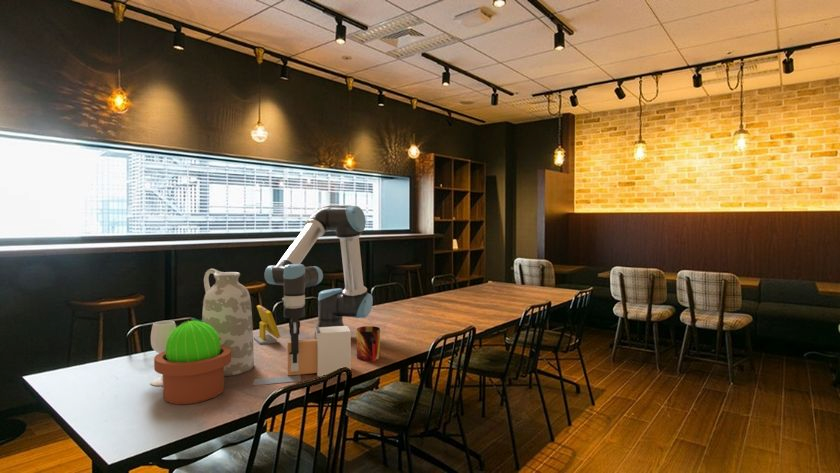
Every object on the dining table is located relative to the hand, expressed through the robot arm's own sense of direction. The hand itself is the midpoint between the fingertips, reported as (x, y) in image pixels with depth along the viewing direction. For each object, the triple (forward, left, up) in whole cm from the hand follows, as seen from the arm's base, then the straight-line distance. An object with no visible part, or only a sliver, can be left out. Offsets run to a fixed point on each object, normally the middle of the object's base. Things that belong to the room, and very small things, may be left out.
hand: (294, 369), depth 166 cm
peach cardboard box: (0, +5, -2) cm, 5 cm away
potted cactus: (+10, -32, -2) cm, 34 cm away
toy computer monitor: (-51, -12, -2) cm, 52 cm away
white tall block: (0, +14, -2) cm, 14 cm away
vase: (-14, -25, -2) cm, 29 cm away
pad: (+4, -6, -2) cm, 8 cm away
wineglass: (-5, -44, -2) cm, 44 cm away
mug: (-12, +31, -2) cm, 33 cm away
